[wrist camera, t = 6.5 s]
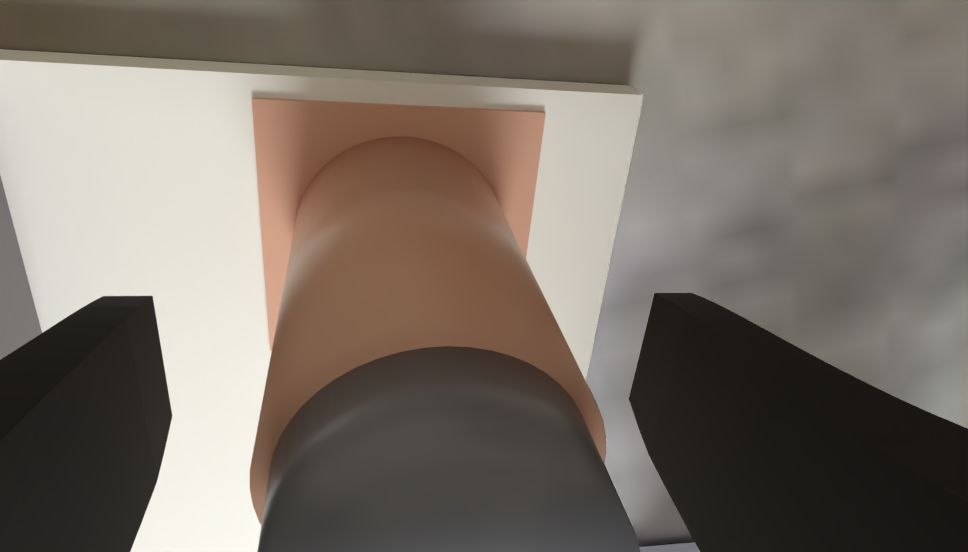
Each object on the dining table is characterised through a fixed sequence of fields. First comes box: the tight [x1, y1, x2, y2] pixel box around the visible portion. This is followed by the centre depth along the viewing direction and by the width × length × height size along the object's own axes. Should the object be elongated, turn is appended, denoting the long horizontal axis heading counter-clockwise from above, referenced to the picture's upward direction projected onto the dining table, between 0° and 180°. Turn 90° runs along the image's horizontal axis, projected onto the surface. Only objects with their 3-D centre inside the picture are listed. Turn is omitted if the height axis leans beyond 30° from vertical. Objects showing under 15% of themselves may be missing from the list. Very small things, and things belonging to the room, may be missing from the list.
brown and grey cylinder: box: [250, 137, 640, 552], centre depth 10 cm, size 4×4×8 cm
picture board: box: [0, 49, 644, 552], centre depth 13 cm, size 18×12×3 cm, turn 84°
